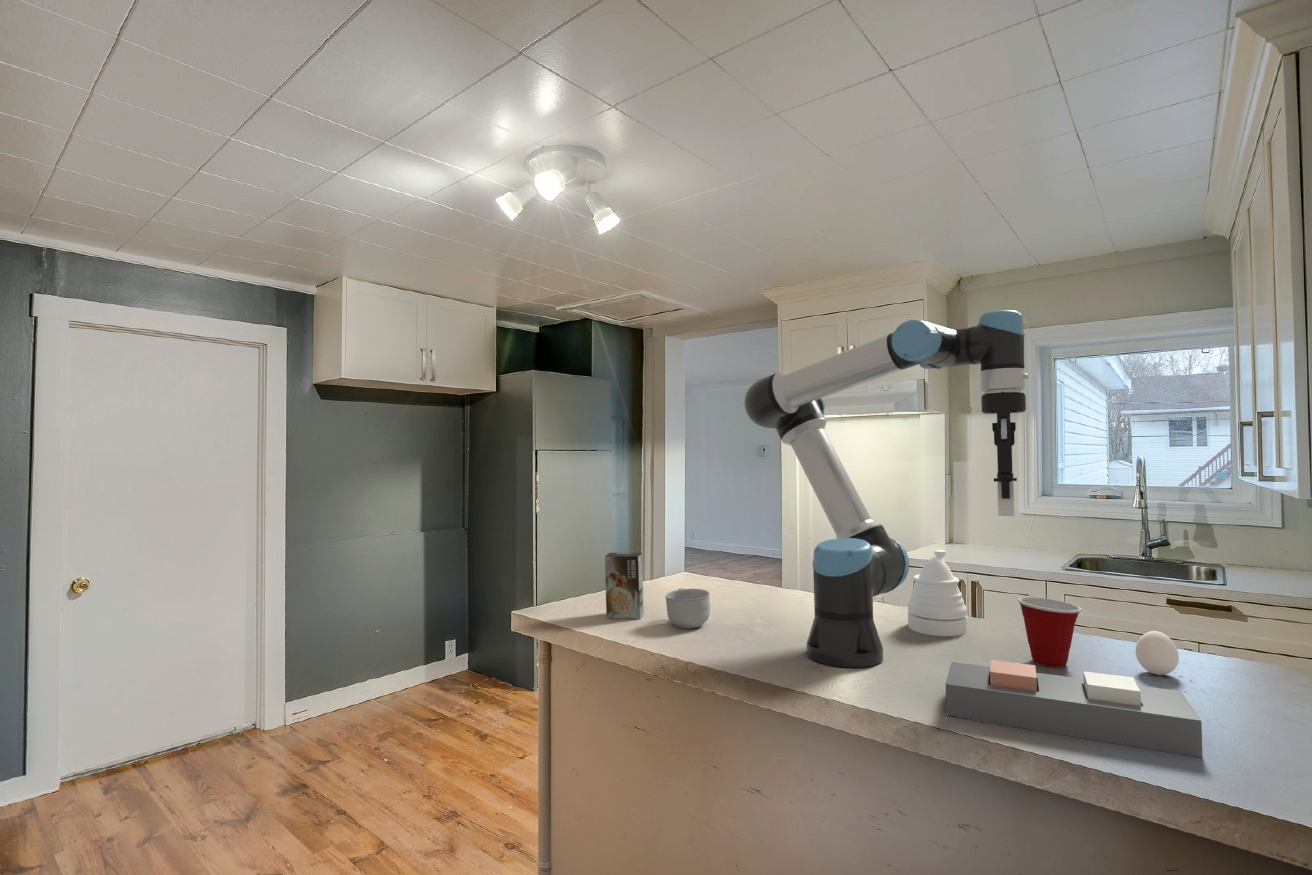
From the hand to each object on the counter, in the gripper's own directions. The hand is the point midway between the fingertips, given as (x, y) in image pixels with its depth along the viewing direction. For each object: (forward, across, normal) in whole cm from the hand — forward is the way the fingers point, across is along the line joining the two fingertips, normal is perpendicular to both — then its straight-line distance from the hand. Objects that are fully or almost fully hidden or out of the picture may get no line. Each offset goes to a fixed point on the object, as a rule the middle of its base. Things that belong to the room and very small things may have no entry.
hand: (1006, 515), depth 125 cm
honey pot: (+30, +25, +15) cm, 42 cm away
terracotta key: (+26, -22, -1) cm, 34 cm away
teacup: (+30, +4, +70) cm, 76 cm away
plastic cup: (+30, +8, -7) cm, 31 cm away
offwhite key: (+26, -22, -14) cm, 37 cm away
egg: (+30, +9, -24) cm, 39 cm away
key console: (+29, -22, -7) cm, 37 cm away
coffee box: (+30, +4, +88) cm, 93 cm away
